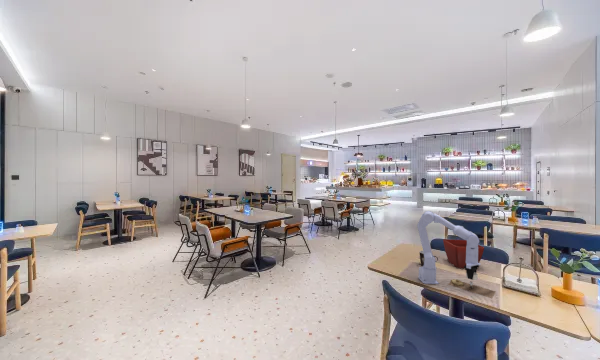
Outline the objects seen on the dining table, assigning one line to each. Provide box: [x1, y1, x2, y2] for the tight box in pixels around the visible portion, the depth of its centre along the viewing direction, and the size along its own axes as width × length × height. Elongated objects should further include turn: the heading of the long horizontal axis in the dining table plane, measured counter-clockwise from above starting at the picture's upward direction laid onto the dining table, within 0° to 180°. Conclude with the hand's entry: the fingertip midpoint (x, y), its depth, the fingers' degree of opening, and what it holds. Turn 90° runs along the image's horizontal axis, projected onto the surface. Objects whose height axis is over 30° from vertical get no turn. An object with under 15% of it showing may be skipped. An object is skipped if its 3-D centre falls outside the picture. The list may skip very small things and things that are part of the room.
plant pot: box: [442, 238, 485, 269], centre depth 175 cm, size 19×19×17 cm
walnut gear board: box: [447, 278, 497, 299], centre depth 138 cm, size 21×11×4 cm, turn 42°
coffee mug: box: [418, 250, 439, 267], centre depth 173 cm, size 12×9×10 cm
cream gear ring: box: [465, 272, 479, 281], centre depth 138 cm, size 5×5×3 cm
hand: (471, 277), depth 138 cm, fingers closed on cream gear ring, 5 cm apart
